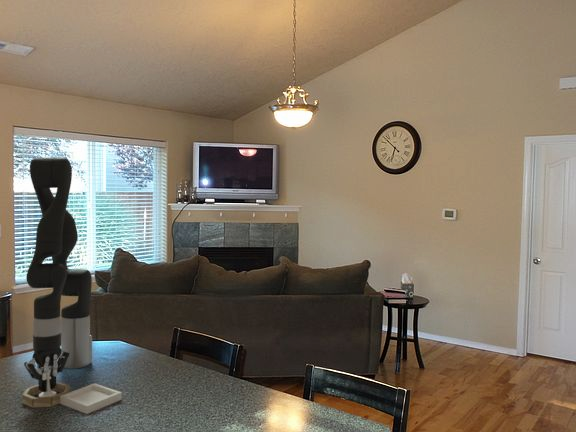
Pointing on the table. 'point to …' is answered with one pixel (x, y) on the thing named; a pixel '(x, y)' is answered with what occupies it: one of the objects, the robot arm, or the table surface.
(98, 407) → the tray
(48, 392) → the chess piece
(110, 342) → the table surface
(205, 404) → the table surface
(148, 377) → the table surface
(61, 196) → the robot arm
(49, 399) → the holder ring
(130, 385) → the table surface
